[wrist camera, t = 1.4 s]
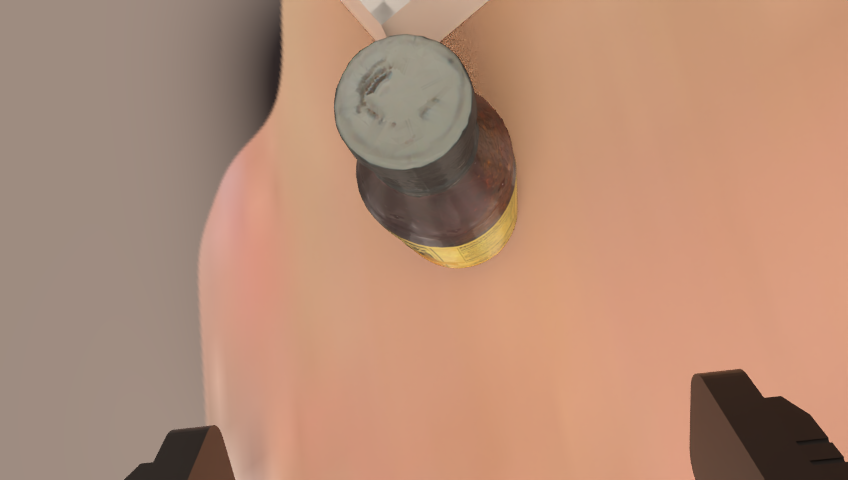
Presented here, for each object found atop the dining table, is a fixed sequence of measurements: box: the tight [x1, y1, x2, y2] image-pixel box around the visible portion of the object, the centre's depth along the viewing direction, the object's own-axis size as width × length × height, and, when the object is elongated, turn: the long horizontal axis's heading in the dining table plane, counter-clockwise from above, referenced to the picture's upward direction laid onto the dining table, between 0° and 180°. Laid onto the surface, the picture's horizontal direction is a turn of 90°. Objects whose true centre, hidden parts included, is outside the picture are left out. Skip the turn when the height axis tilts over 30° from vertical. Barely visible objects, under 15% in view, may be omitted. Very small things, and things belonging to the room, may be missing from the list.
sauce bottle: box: [334, 34, 517, 268], centre depth 30 cm, size 7×6×20 cm
